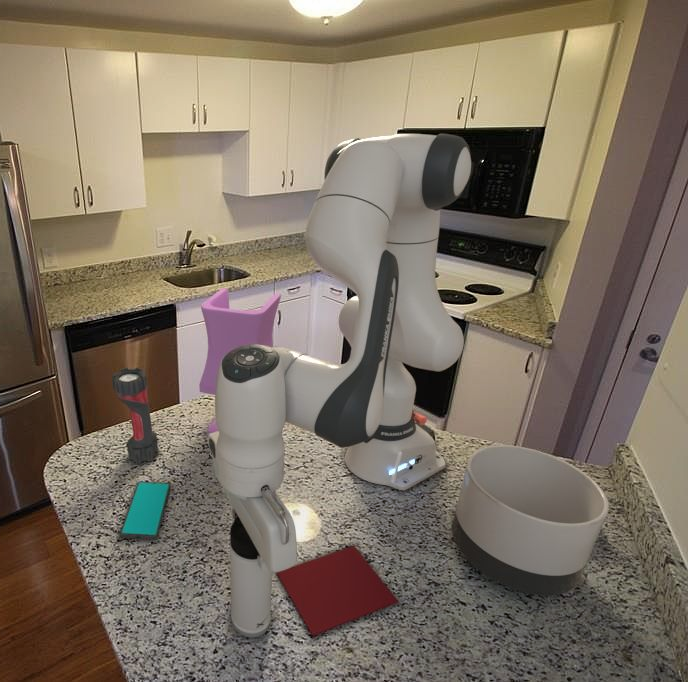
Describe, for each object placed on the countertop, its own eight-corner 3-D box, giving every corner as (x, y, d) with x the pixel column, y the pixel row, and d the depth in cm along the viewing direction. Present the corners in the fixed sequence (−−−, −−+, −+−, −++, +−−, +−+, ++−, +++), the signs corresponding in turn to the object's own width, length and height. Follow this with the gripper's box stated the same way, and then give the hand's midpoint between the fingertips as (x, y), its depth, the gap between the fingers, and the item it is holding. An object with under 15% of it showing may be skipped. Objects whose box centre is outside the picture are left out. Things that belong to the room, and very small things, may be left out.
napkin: (353, 547, 86) (354, 545, 86) (398, 602, 76) (398, 600, 76) (276, 573, 82) (276, 571, 82) (312, 636, 71) (312, 634, 71)
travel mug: (271, 642, 71) (274, 545, 63) (228, 634, 72) (226, 539, 64) (273, 604, 76) (277, 511, 68) (234, 598, 78) (233, 506, 70)
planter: (450, 506, 95) (467, 434, 88) (565, 539, 87) (595, 462, 79) (445, 580, 80) (466, 500, 72) (585, 629, 71) (624, 544, 64)
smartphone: (119, 534, 90) (138, 481, 103) (120, 537, 90) (138, 484, 104) (157, 537, 89) (170, 483, 102) (157, 540, 89) (171, 486, 103)
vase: (277, 416, 127) (281, 294, 113) (259, 449, 114) (261, 315, 100) (224, 405, 133) (222, 287, 119) (201, 435, 120) (195, 307, 106)
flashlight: (116, 461, 111) (104, 377, 102) (136, 443, 117) (127, 362, 108) (141, 471, 108) (132, 385, 98) (161, 453, 114) (154, 370, 104)
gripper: (312, 512, 54) (307, 593, 59) (242, 419, 71) (243, 489, 77) (263, 528, 52) (262, 610, 58) (203, 428, 69) (207, 499, 75)
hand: (251, 540), depth 67 cm, fingers open, 8 cm apart
